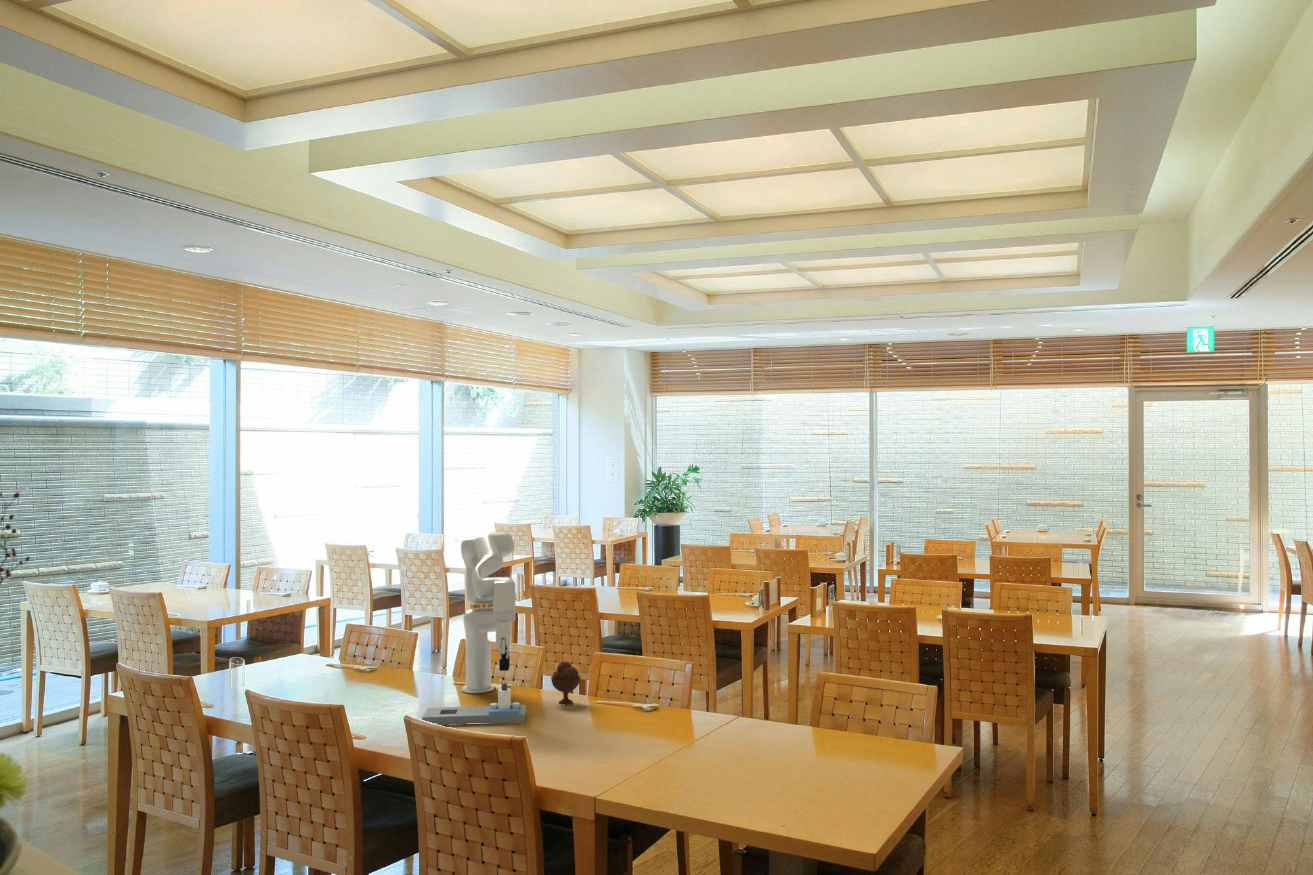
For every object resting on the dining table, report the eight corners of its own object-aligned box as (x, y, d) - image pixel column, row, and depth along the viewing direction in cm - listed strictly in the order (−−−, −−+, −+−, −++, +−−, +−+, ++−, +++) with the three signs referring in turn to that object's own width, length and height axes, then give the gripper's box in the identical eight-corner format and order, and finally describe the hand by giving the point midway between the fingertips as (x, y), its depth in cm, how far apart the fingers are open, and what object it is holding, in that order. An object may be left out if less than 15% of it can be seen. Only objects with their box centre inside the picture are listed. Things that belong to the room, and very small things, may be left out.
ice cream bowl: (545, 705, 337) (544, 663, 338) (562, 698, 347) (561, 657, 347) (569, 708, 332) (569, 666, 333) (586, 701, 342) (585, 660, 342)
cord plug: (499, 717, 322) (498, 682, 322) (510, 716, 322) (510, 682, 322) (498, 720, 318) (498, 685, 318) (509, 720, 318) (509, 685, 318)
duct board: (427, 716, 323) (427, 701, 323) (525, 713, 326) (525, 698, 327) (422, 726, 311) (422, 710, 311) (524, 722, 314) (524, 707, 315)
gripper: (495, 612, 328) (495, 664, 328) (491, 620, 312) (491, 675, 312) (516, 611, 329) (516, 663, 329) (513, 619, 313) (514, 674, 312)
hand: (504, 668), depth 320 cm, fingers open, 2 cm apart
